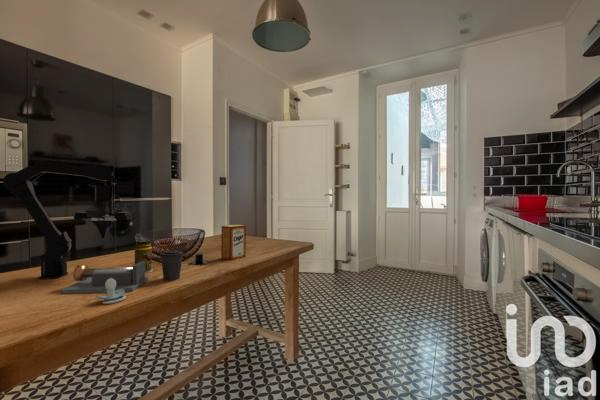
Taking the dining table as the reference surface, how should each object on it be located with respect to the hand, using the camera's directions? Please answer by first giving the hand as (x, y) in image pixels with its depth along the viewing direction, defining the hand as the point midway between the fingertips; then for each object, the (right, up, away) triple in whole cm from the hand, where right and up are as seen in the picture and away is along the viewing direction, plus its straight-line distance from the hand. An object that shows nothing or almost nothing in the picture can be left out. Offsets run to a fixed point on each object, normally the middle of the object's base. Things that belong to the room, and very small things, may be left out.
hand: (103, 238), depth 114 cm
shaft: (+13, -11, -18) cm, 25 cm away
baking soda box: (+44, -13, +28) cm, 54 cm away
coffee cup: (+30, -14, -9) cm, 34 cm away
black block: (+31, -14, +17) cm, 38 cm away
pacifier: (+23, -14, -31) cm, 41 cm away
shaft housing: (+14, -13, -18) cm, 26 cm away
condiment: (+14, -13, +1) cm, 19 cm away
